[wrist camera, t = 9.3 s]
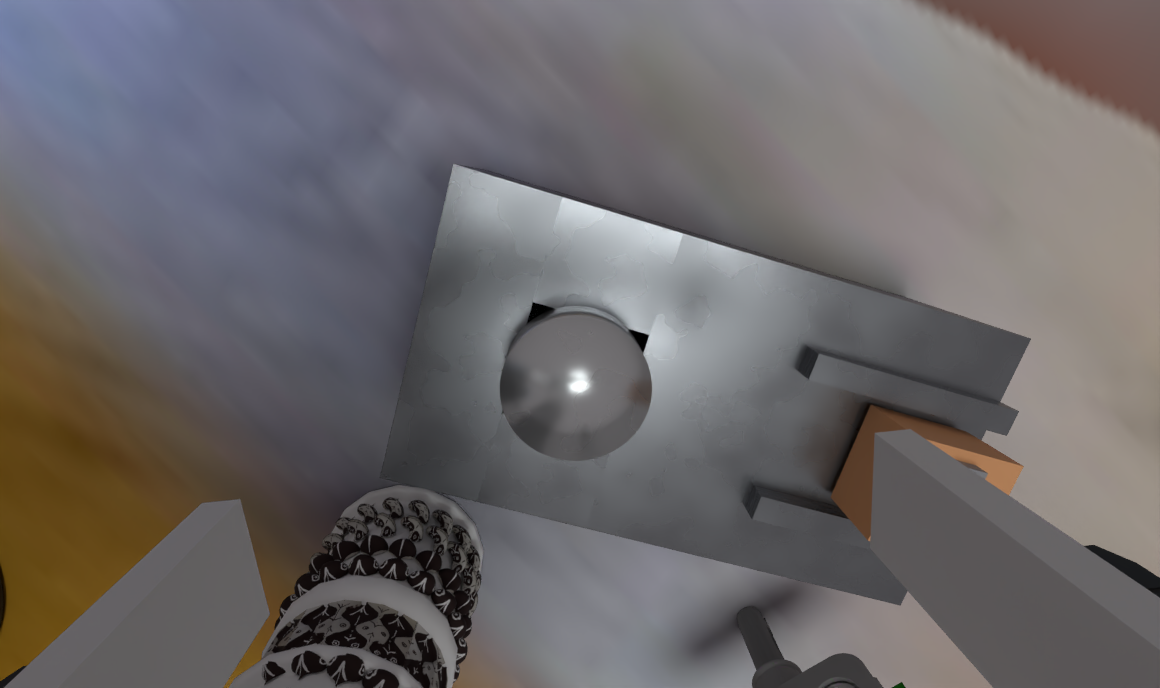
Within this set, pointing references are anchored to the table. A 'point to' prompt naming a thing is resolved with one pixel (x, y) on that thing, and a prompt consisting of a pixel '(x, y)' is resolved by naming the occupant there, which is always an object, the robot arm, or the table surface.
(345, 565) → the decorative candle
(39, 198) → the table surface
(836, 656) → the mechanical component
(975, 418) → the hitch block
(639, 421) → the pin
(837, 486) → the block
